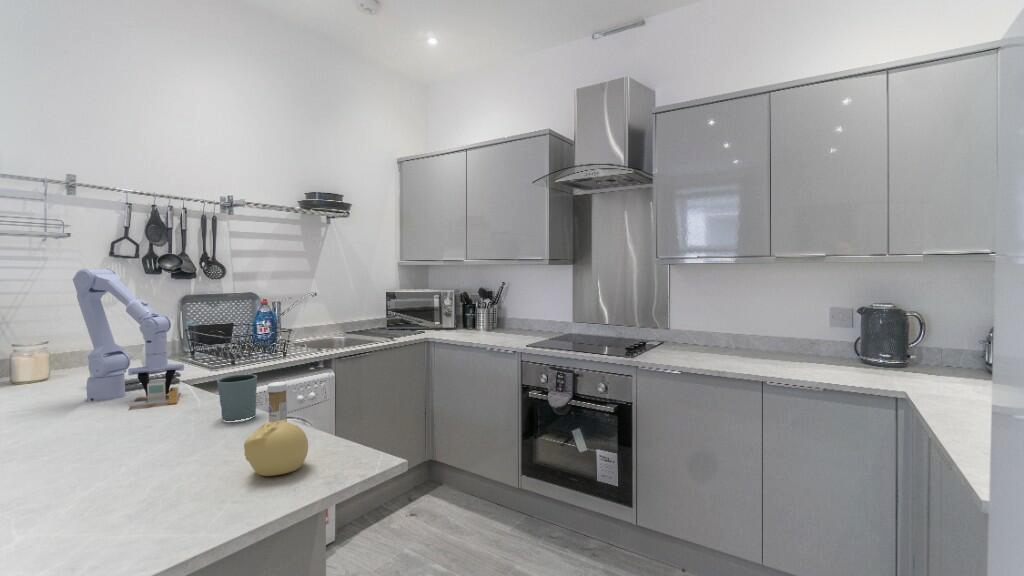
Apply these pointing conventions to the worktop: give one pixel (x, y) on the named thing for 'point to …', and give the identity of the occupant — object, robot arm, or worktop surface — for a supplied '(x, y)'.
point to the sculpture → (276, 448)
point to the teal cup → (237, 396)
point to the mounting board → (151, 405)
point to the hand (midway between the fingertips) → (157, 394)
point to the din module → (156, 389)
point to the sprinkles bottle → (277, 401)
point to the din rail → (171, 400)
